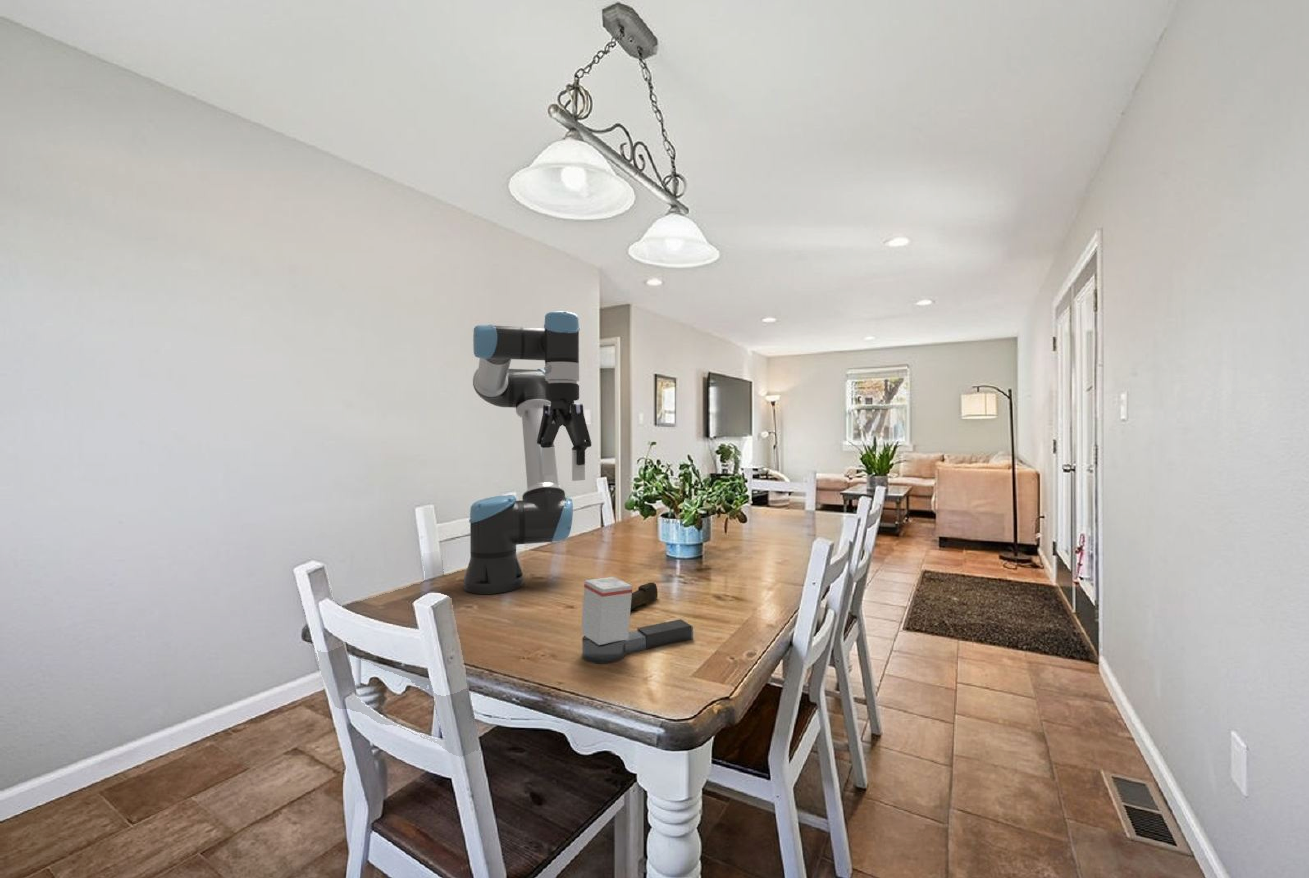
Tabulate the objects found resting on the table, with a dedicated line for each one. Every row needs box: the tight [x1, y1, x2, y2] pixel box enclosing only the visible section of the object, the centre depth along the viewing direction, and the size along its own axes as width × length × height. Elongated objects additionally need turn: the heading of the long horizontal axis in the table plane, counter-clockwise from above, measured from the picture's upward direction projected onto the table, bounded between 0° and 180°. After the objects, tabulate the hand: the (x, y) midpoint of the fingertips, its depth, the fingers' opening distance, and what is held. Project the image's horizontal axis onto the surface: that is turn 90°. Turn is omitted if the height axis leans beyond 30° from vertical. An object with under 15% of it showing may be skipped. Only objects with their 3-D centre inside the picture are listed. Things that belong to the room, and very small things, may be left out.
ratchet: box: [581, 618, 694, 664], centre depth 107 cm, size 22×8×8 cm, turn 119°
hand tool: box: [631, 582, 658, 610], centre depth 128 cm, size 19×4×5 cm, turn 139°
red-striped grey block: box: [580, 576, 633, 645], centre depth 103 cm, size 6×6×10 cm
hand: (562, 477), depth 124 cm, fingers open, 13 cm apart
